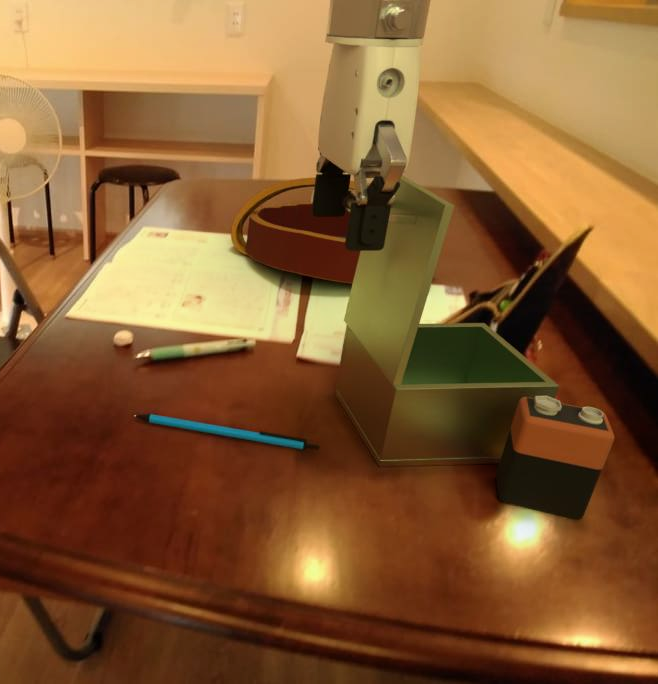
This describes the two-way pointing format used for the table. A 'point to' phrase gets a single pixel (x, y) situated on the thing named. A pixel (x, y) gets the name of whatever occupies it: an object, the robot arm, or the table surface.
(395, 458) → the bin
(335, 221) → the decorative basket
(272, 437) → the pen
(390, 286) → the bin lid
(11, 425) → the table surface
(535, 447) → the battery
